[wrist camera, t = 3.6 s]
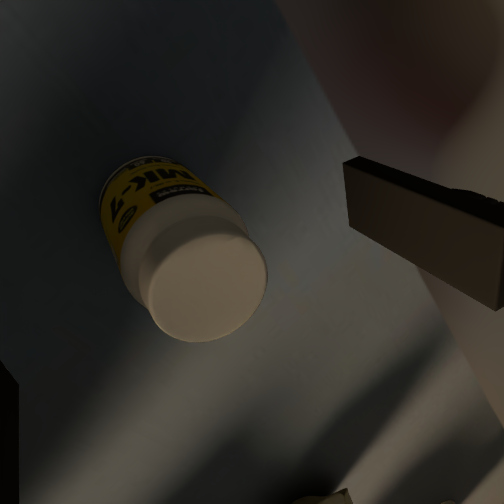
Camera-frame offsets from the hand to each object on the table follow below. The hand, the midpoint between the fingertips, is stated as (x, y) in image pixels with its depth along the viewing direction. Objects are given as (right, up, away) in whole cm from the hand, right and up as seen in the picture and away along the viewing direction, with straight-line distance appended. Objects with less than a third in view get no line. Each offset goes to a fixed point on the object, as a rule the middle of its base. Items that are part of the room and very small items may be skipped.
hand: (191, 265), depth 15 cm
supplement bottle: (-3, +3, +6) cm, 7 cm away
